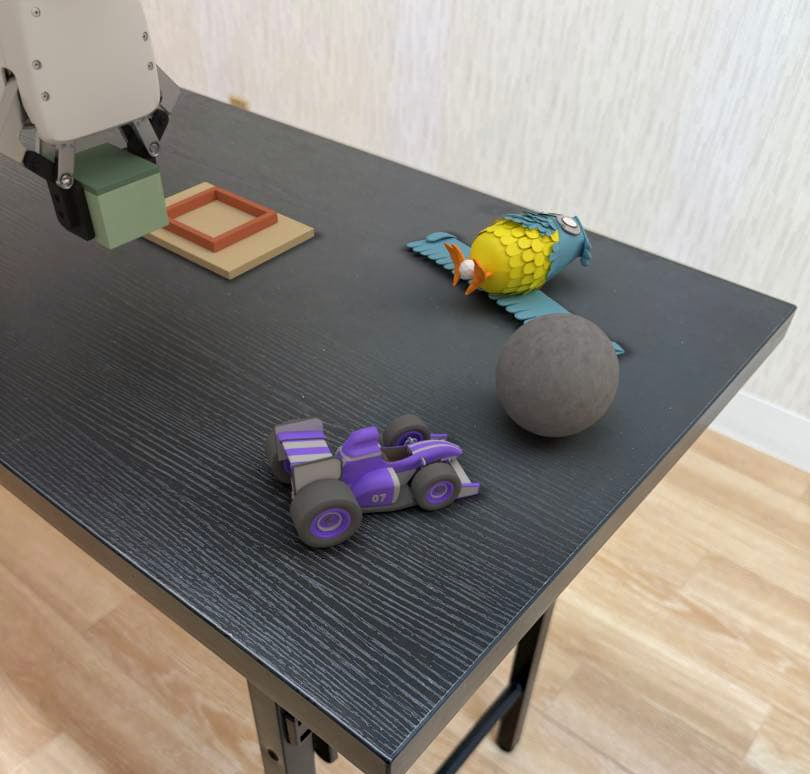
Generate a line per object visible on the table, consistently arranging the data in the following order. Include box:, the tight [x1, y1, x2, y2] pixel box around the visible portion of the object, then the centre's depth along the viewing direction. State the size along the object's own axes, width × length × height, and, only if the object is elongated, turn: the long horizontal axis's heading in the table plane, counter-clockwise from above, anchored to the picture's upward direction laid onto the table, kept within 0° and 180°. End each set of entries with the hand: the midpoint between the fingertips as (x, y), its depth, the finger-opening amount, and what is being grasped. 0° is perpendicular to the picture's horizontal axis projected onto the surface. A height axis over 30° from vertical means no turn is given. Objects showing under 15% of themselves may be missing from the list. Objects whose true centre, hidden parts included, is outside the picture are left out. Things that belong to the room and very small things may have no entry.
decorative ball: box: [494, 313, 620, 438], centre depth 66 cm, size 10×10×10 cm
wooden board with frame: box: [141, 181, 315, 281], centre depth 91 cm, size 18×13×2 cm
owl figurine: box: [406, 210, 626, 356], centre depth 81 cm, size 28×9×15 cm
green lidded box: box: [74, 142, 169, 251], centre depth 60 cm, size 6×6×4 cm
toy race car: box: [264, 413, 481, 549], centre depth 61 cm, size 10×15×6 cm, turn 111°
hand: (114, 217), depth 61 cm, fingers closed on green lidded box, 5 cm apart
